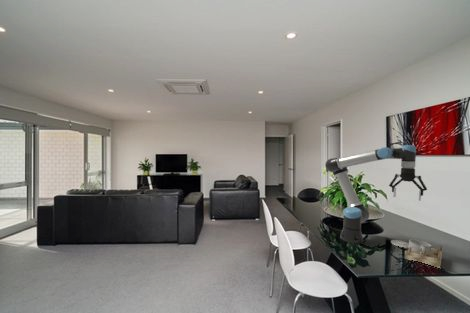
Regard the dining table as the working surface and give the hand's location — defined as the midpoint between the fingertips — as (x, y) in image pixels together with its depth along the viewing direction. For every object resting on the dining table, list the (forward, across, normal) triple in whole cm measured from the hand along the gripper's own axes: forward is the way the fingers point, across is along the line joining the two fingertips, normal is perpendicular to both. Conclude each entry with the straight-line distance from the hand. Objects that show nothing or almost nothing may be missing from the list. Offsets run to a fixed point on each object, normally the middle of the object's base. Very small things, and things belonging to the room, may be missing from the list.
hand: (406, 198), depth 147 cm
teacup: (+34, +9, -8) cm, 36 cm away
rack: (+35, +10, -8) cm, 37 cm away
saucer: (+35, -3, +7) cm, 36 cm away
